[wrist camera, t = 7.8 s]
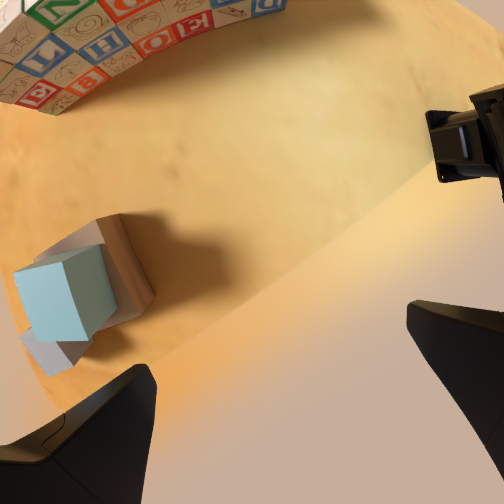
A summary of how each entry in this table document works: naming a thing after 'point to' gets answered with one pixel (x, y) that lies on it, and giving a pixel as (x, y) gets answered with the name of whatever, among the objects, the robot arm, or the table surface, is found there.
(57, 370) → the light grey cube
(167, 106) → the table surface
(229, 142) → the table surface
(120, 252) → the walnut block
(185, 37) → the stack of blocks
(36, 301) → the teal cube
